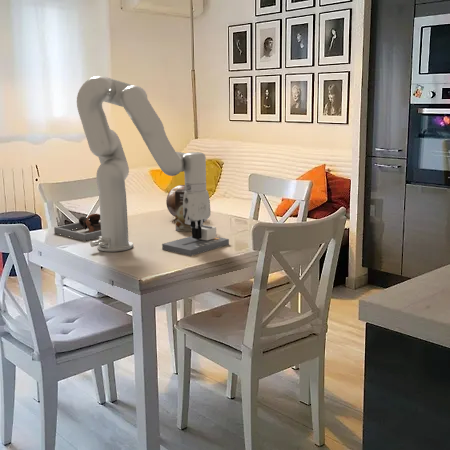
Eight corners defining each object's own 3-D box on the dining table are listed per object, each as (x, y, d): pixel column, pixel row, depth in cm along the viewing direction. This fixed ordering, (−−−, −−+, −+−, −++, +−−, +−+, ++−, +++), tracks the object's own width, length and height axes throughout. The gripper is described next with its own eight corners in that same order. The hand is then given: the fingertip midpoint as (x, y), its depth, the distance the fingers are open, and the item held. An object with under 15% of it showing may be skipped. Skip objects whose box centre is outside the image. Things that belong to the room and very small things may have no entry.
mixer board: (190, 256, 202) (190, 250, 201) (162, 249, 211) (162, 243, 210) (228, 244, 217) (228, 238, 216) (200, 238, 226) (200, 233, 225)
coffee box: (175, 231, 238) (173, 191, 235) (177, 227, 245) (176, 189, 241) (197, 231, 237) (196, 191, 234) (199, 227, 244) (199, 189, 240)
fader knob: (207, 240, 213) (206, 228, 212) (195, 238, 217) (194, 225, 216) (216, 237, 217) (216, 225, 216) (204, 235, 221) (204, 223, 220)
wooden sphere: (159, 219, 260) (158, 185, 257) (182, 214, 272) (181, 181, 269) (185, 223, 251) (184, 188, 248) (207, 217, 263) (207, 184, 260)
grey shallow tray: (84, 241, 224) (84, 234, 223) (54, 233, 237) (54, 227, 236) (122, 232, 237) (121, 226, 237) (91, 225, 250) (91, 219, 250)
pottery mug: (109, 229, 245) (110, 214, 239) (101, 244, 238) (102, 229, 232) (81, 222, 245) (82, 207, 240) (73, 236, 238) (73, 221, 233)
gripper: (188, 191, 201) (189, 243, 205) (217, 186, 212) (218, 235, 216) (172, 189, 206) (174, 240, 210) (202, 184, 217) (203, 232, 221)
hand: (196, 238), depth 213 cm, fingers closed
